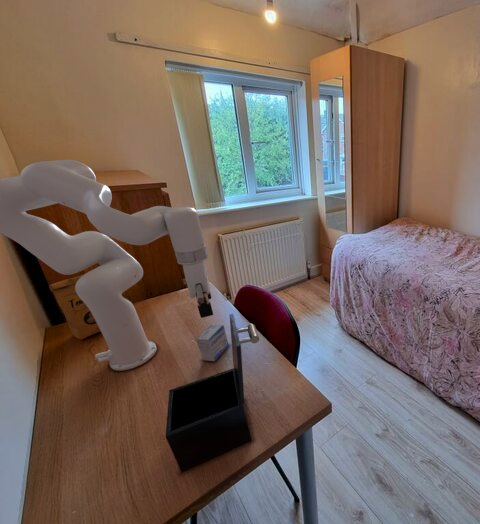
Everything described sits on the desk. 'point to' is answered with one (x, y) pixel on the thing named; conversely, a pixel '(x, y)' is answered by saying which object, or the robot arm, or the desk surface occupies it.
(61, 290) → the coffee package
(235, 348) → the bin lid
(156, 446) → the desk surface
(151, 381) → the desk surface
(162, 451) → the desk surface
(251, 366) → the desk surface
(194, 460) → the bin
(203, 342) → the medicine box
